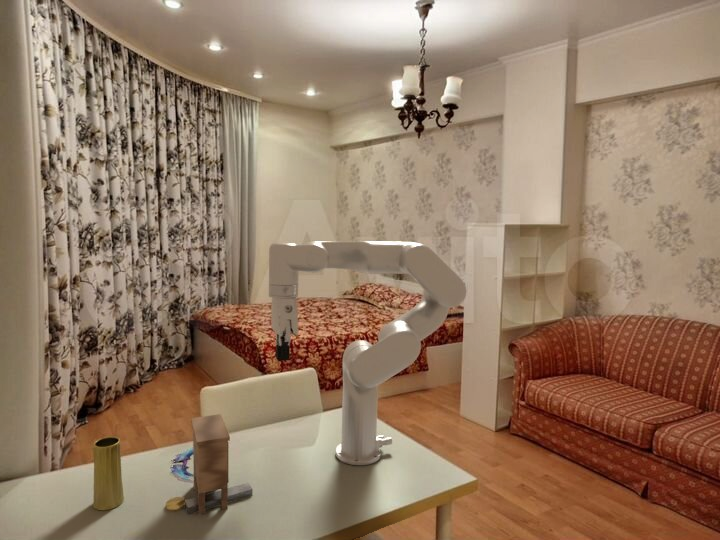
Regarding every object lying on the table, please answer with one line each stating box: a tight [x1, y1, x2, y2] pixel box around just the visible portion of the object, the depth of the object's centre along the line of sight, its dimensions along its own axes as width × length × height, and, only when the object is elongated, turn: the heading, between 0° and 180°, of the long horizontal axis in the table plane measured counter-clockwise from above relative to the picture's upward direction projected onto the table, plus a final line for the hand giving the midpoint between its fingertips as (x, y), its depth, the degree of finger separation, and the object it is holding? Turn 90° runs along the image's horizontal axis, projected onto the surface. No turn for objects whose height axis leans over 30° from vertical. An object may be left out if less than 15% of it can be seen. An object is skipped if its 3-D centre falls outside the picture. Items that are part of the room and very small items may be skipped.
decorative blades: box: [170, 447, 194, 484], centre depth 126 cm, size 20×1×10 cm
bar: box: [184, 482, 254, 515], centre depth 109 cm, size 14×3×2 cm, turn 123°
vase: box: [92, 436, 125, 511], centre depth 107 cm, size 6×6×14 cm
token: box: [165, 496, 186, 513], centre depth 107 cm, size 4×4×1 cm
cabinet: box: [190, 413, 231, 516], centre depth 110 cm, size 7×13×17 cm, turn 24°
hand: (282, 359), depth 127 cm, fingers closed
